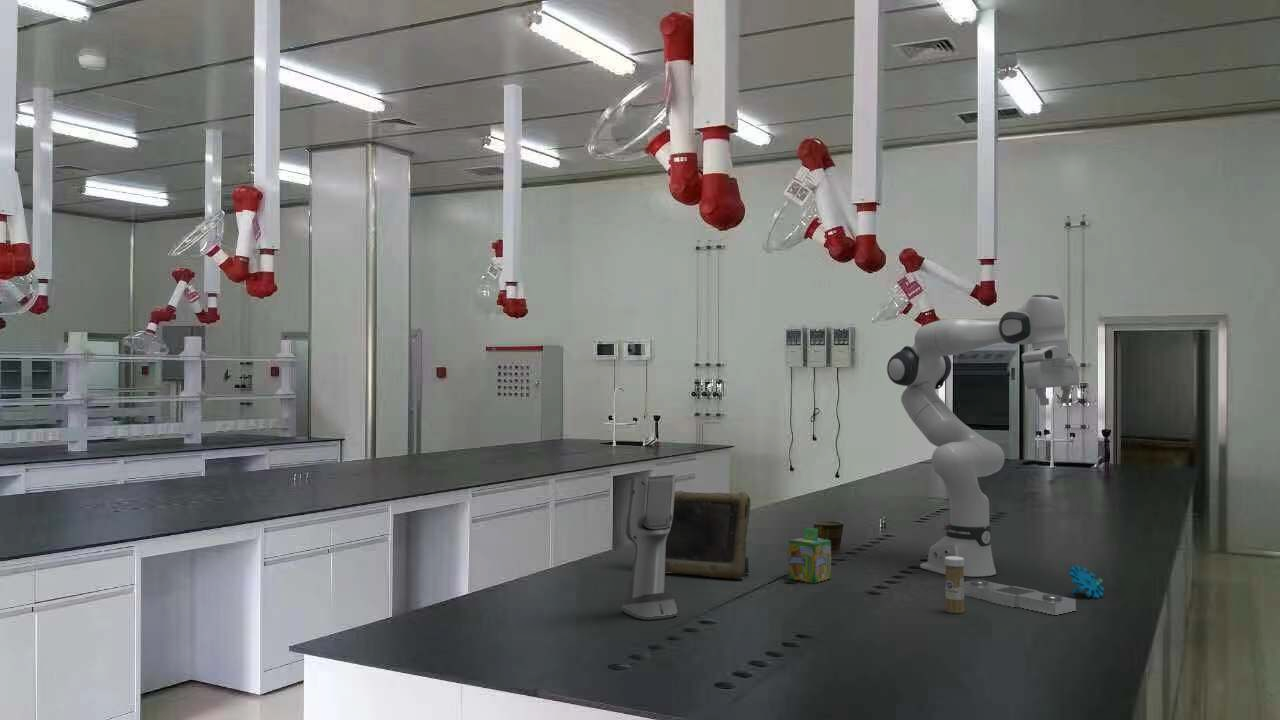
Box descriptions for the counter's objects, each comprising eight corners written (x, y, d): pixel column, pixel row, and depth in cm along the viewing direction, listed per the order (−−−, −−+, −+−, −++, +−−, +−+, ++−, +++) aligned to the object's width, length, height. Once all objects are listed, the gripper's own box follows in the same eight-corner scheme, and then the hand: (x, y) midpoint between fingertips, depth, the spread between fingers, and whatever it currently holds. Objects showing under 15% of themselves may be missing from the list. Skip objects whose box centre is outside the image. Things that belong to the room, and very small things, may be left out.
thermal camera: (641, 622, 236) (639, 477, 237) (619, 611, 248) (617, 473, 248) (683, 616, 241) (681, 474, 242) (660, 606, 253) (658, 470, 253)
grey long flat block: (955, 594, 261) (955, 581, 261) (980, 590, 266) (979, 576, 266) (1053, 616, 236) (1052, 601, 236) (1078, 611, 241) (1077, 596, 241)
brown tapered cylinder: (821, 548, 333) (821, 519, 334) (848, 551, 328) (848, 521, 328) (804, 554, 323) (803, 524, 323) (832, 557, 317) (831, 526, 317)
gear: (1085, 595, 251) (1065, 563, 258) (1071, 608, 255) (1051, 576, 262) (1115, 596, 256) (1094, 564, 263) (1100, 609, 259) (1080, 577, 266)
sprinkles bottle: (942, 612, 242) (941, 557, 242) (950, 608, 246) (949, 555, 246) (960, 614, 239) (959, 559, 239) (967, 611, 243) (966, 556, 243)
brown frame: (637, 575, 294) (636, 491, 294) (654, 566, 306) (653, 486, 307) (742, 582, 281) (741, 495, 282) (755, 573, 294) (754, 489, 295)
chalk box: (788, 580, 283) (787, 528, 283) (805, 575, 290) (804, 525, 290) (815, 584, 277) (814, 531, 277) (832, 579, 283) (831, 528, 284)
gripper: (1061, 353, 273) (1066, 402, 273) (1017, 355, 262) (1022, 406, 261) (1082, 351, 268) (1087, 401, 268) (1038, 353, 257) (1043, 405, 256)
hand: (1055, 404), depth 264 cm, fingers open, 8 cm apart
